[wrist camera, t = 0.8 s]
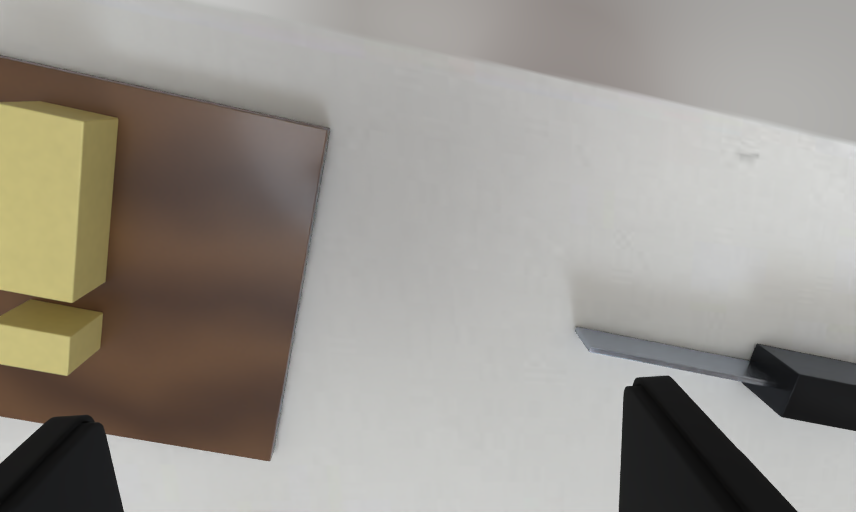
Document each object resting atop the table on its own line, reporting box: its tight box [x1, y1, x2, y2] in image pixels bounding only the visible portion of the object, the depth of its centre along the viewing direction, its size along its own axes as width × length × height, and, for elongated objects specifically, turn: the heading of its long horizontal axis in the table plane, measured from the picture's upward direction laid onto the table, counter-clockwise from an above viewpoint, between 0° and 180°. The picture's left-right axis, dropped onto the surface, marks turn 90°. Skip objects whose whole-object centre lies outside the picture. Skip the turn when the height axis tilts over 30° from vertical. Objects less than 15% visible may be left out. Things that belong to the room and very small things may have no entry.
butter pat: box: [0, 299, 103, 376], centre depth 28 cm, size 2×4×3 cm, turn 78°
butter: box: [0, 101, 118, 303], centre depth 26 cm, size 8×4×3 cm, turn 167°
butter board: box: [0, 55, 330, 461], centre depth 29 cm, size 18×20×1 cm
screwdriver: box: [575, 327, 856, 431], centre depth 30 cm, size 19×2×4 cm, turn 77°
